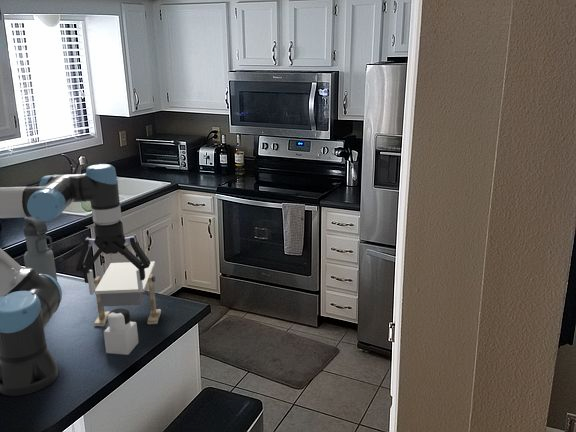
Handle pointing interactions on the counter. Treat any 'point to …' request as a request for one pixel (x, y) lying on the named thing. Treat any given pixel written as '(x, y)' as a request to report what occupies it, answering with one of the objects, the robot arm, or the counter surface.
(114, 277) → the trapdoor flap
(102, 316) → the flap stand
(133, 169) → the counter surface
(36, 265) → the water bottle
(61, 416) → the counter surface
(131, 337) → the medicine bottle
